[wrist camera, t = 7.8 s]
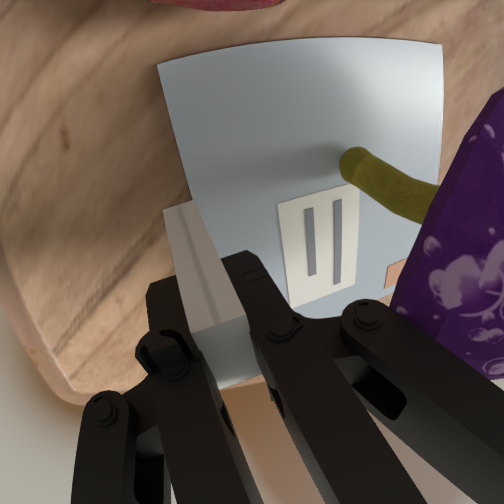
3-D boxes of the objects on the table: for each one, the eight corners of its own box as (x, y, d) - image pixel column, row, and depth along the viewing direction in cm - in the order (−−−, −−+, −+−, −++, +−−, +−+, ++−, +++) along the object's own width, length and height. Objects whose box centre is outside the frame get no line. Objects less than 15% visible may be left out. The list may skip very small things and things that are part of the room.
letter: (156, 64, 10) (156, 64, 10) (438, 44, 13) (443, 45, 12) (240, 349, 22) (242, 354, 22) (416, 278, 24) (418, 281, 24)
